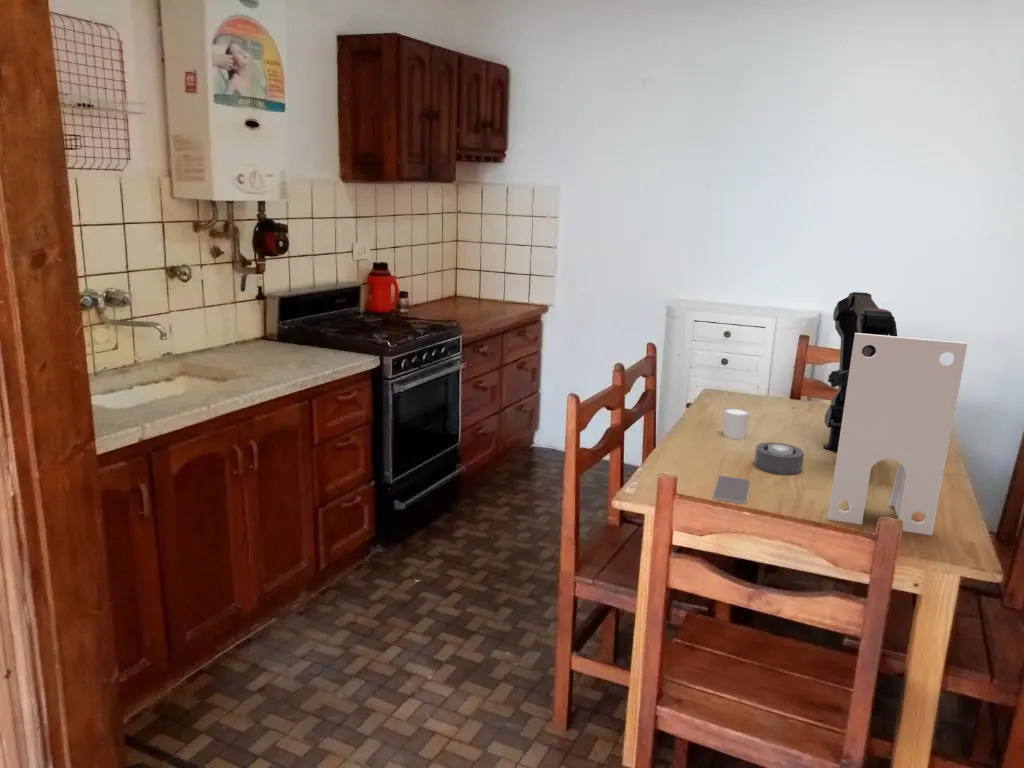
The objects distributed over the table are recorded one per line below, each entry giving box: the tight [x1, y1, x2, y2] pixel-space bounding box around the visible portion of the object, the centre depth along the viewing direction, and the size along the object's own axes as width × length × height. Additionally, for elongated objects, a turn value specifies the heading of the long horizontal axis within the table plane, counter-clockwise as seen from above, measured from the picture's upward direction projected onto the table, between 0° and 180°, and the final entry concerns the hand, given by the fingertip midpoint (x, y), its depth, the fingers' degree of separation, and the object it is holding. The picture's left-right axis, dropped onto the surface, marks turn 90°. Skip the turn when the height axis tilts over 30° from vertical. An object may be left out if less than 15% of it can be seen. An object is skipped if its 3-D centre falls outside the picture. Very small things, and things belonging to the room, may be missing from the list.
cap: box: [767, 444, 793, 455], centre depth 200 cm, size 6×6×4 cm
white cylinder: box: [723, 408, 750, 440], centre depth 224 cm, size 7×7×7 cm
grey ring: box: [754, 441, 805, 476], centre depth 200 cm, size 11×11×4 cm
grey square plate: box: [712, 475, 751, 505], centre depth 185 cm, size 7×1×15 cm
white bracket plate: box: [827, 333, 968, 536], centre depth 169 cm, size 20×14×40 cm
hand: (859, 424), depth 197 cm, fingers closed
